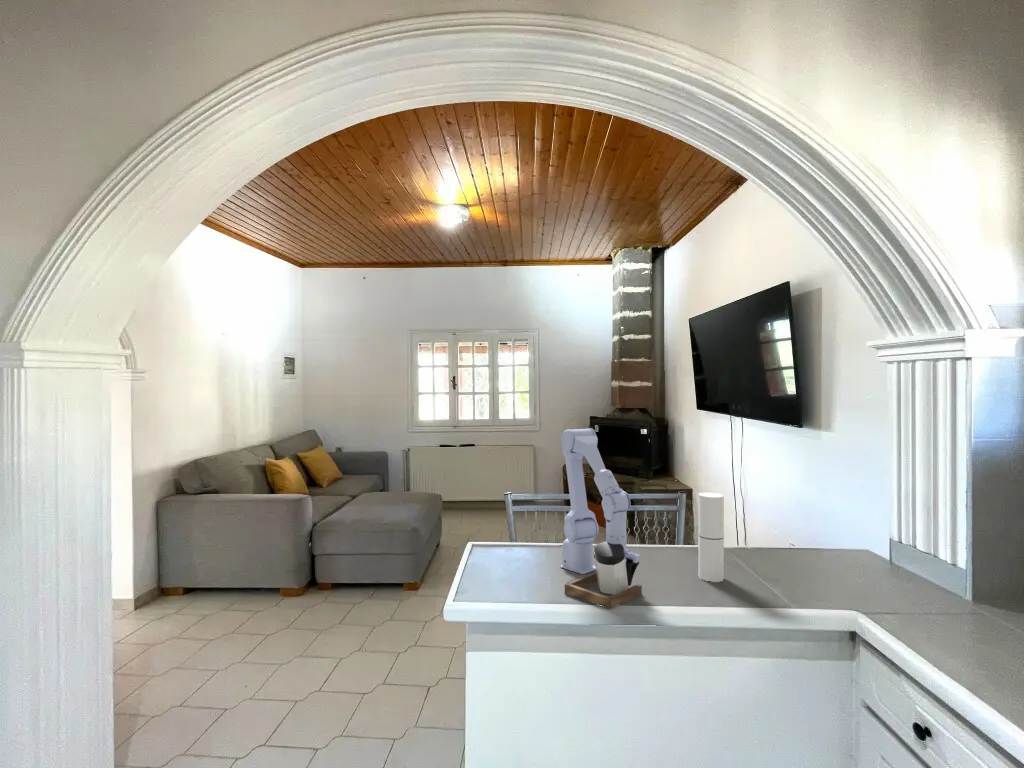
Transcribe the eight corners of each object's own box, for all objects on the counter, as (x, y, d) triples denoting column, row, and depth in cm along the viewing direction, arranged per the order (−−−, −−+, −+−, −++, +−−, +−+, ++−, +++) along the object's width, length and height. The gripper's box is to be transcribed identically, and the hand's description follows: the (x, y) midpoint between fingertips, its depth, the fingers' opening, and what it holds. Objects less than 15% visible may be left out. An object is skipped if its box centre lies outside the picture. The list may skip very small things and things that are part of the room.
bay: (564, 592, 155) (564, 583, 155) (597, 579, 165) (597, 571, 165) (609, 609, 143) (609, 599, 143) (641, 594, 154) (641, 585, 154)
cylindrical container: (697, 580, 164) (697, 496, 164) (699, 572, 171) (699, 491, 171) (723, 583, 161) (723, 498, 161) (723, 575, 168) (724, 493, 168)
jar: (610, 599, 151) (606, 561, 148) (591, 586, 158) (587, 549, 155) (634, 585, 155) (631, 548, 152) (615, 573, 162) (611, 536, 159)
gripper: (645, 536, 156) (646, 584, 156) (603, 527, 166) (604, 572, 166) (631, 541, 151) (631, 591, 151) (589, 531, 161) (589, 578, 161)
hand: (616, 582), depth 158 cm, fingers open, 7 cm apart
